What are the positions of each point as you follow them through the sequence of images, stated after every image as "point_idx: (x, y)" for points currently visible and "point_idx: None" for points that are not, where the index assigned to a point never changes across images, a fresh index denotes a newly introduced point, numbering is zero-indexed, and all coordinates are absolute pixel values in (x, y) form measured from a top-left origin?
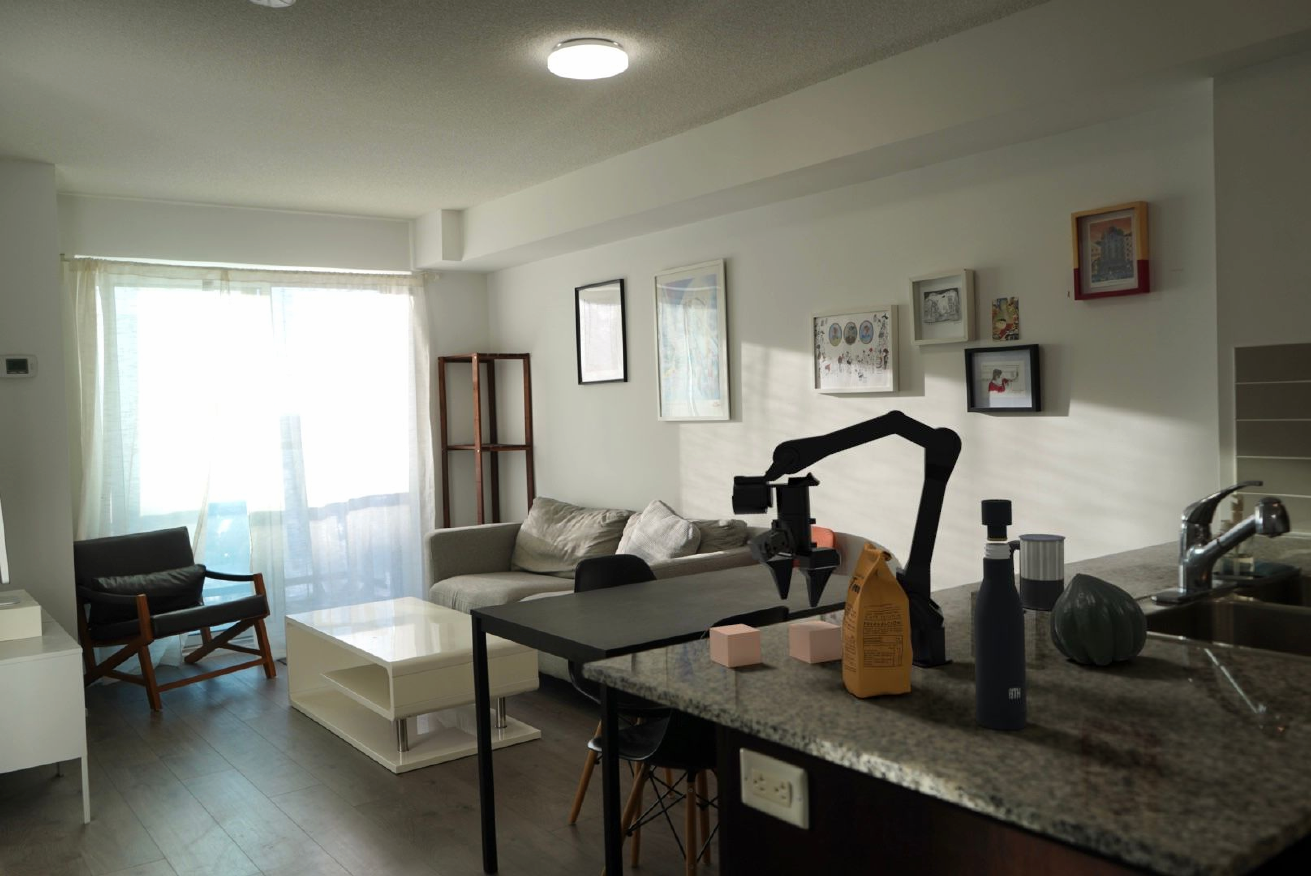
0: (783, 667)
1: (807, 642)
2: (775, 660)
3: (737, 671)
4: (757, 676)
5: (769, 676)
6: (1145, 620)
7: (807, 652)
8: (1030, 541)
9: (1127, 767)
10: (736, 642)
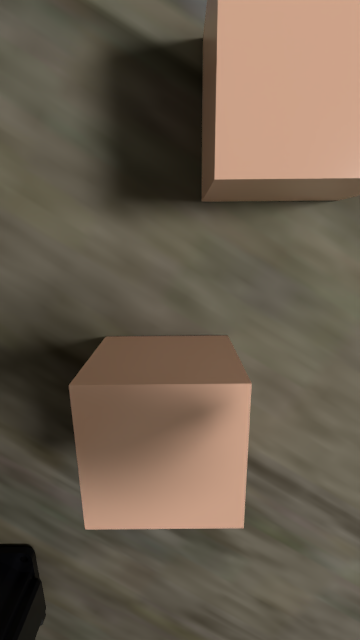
0: (106, 237)
1: (102, 362)
2: (203, 263)
3: (135, 43)
4: (33, 78)
5: (15, 122)
6: None
7: (112, 347)
8: None
9: None
10: (212, 19)
